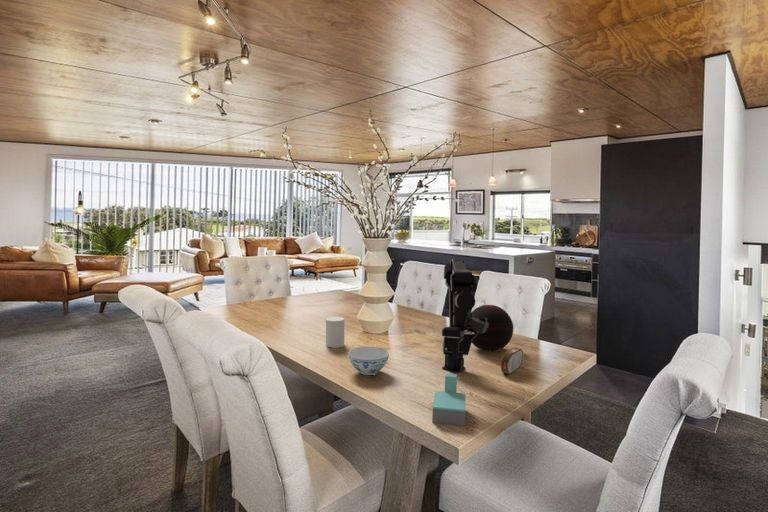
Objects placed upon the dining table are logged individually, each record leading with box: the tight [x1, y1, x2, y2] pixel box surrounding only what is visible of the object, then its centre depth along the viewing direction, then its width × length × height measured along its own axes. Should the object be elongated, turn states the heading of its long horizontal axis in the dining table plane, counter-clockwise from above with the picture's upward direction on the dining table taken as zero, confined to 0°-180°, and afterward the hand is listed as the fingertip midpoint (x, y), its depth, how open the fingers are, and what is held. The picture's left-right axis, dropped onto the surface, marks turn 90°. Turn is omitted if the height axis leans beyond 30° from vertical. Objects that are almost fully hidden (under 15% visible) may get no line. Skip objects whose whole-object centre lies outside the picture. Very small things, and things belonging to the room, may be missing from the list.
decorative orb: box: [471, 304, 514, 352], centre depth 187 cm, size 20×20×20 cm
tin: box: [500, 346, 524, 375], centre depth 163 cm, size 15×3×8 cm, turn 141°
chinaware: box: [348, 345, 390, 376], centre depth 159 cm, size 15×15×8 cm
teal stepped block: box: [432, 373, 467, 413], centre depth 126 cm, size 14×9×10 cm, turn 169°
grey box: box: [431, 408, 466, 427], centre depth 125 cm, size 10×9×4 cm
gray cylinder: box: [325, 316, 345, 349], centre depth 191 cm, size 8×8×12 cm
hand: (461, 356), depth 142 cm, fingers open, 9 cm apart
